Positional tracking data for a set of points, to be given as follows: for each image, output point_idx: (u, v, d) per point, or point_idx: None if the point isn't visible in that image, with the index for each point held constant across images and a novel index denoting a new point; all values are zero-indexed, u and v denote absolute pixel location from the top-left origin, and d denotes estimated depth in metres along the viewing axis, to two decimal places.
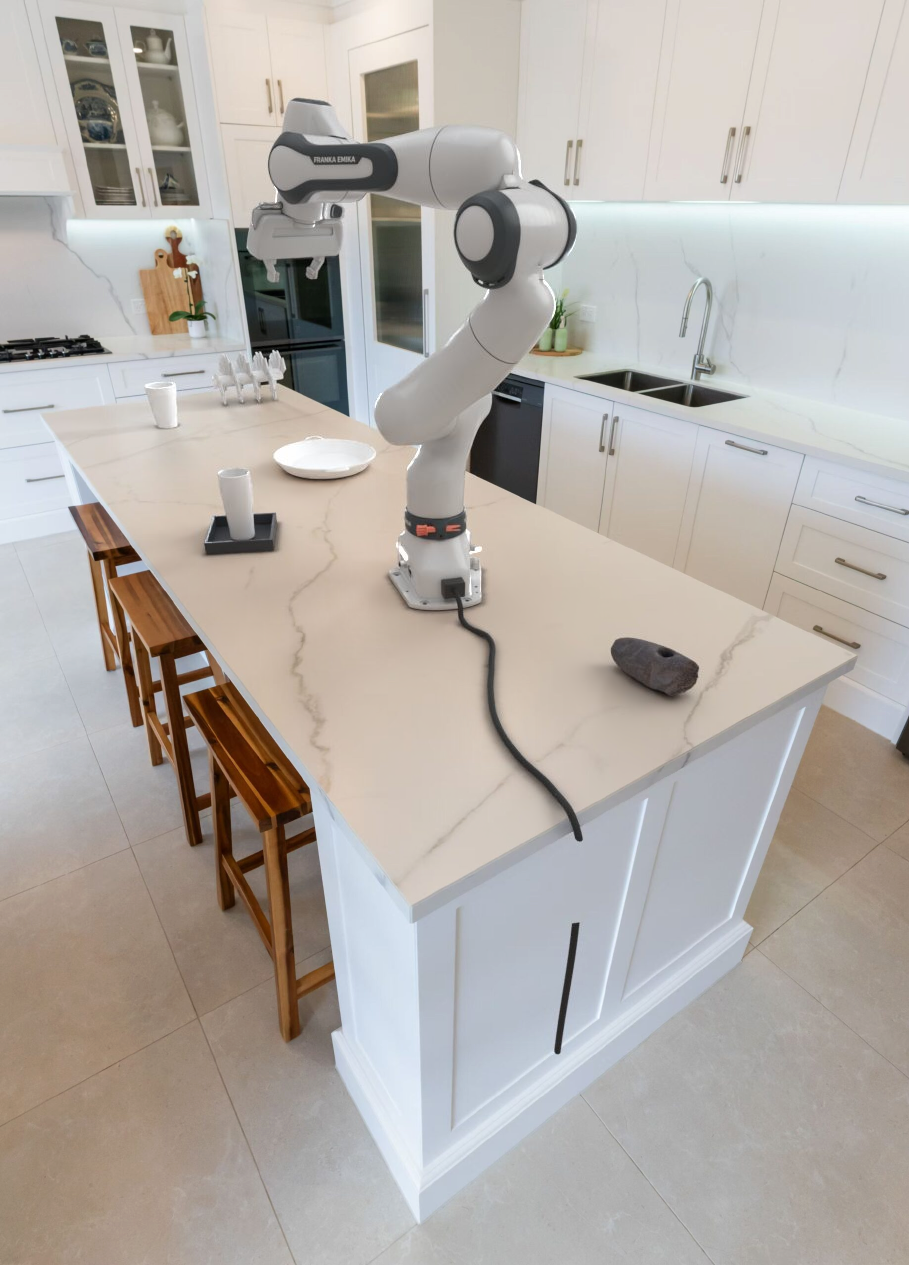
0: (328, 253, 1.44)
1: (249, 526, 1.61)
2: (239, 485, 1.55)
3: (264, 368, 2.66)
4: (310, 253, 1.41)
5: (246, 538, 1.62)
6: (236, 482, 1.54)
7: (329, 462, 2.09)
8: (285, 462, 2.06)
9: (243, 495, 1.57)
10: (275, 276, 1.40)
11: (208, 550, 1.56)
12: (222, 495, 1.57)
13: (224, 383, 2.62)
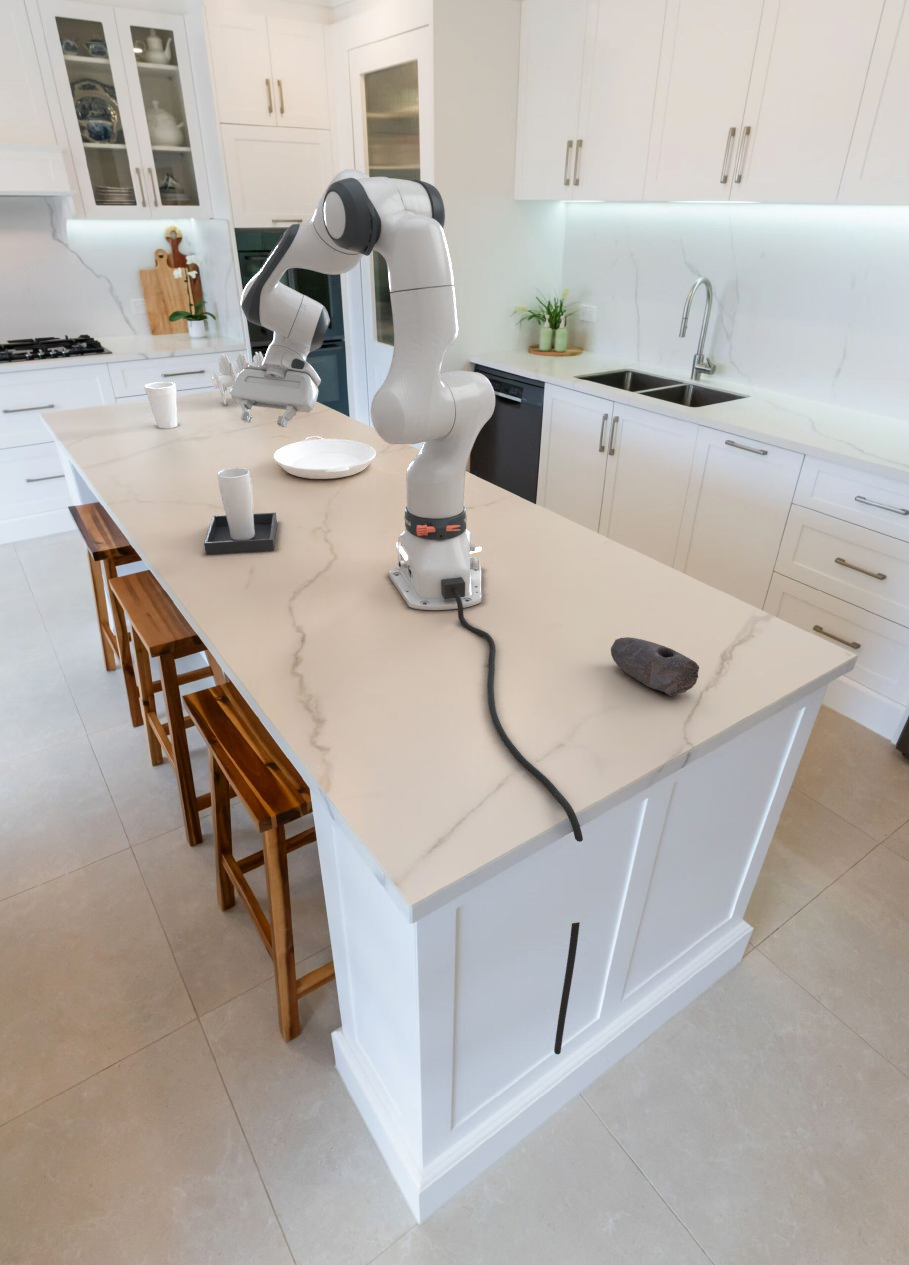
0: (292, 400, 1.60)
1: (249, 526, 1.61)
2: (239, 485, 1.55)
3: None
4: (275, 398, 1.61)
5: (246, 538, 1.62)
6: (236, 482, 1.54)
7: (329, 462, 2.09)
8: (285, 462, 2.06)
9: (243, 495, 1.57)
10: (244, 413, 1.64)
11: (208, 550, 1.56)
12: (222, 495, 1.57)
13: (224, 383, 2.62)
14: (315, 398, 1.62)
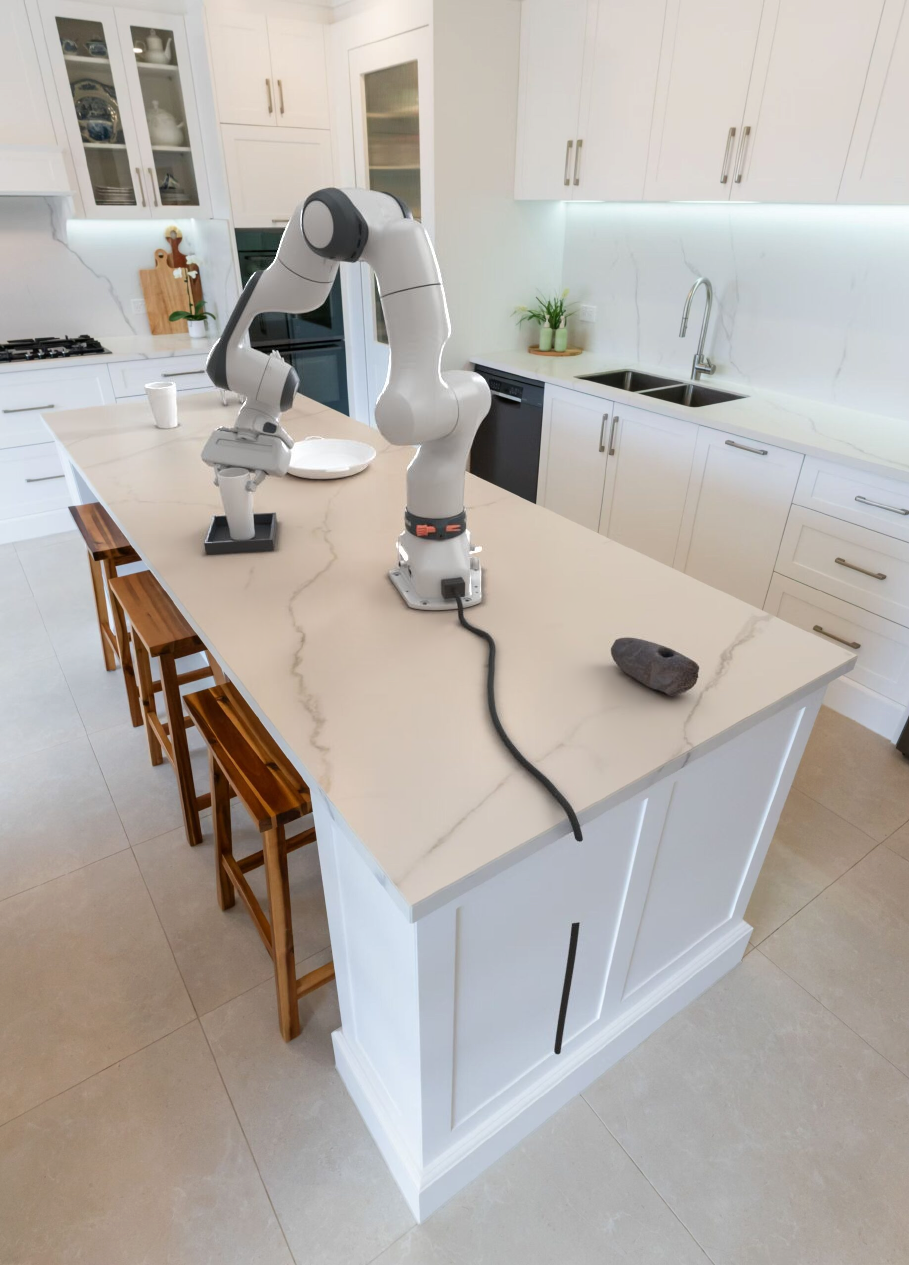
0: (264, 465, 1.55)
1: (249, 526, 1.61)
2: (239, 485, 1.55)
3: None
4: (246, 462, 1.56)
5: (246, 538, 1.62)
6: (236, 482, 1.54)
7: (329, 462, 2.09)
8: None
9: (243, 495, 1.57)
10: (217, 478, 1.59)
11: (208, 550, 1.56)
12: (222, 495, 1.57)
13: None
14: (288, 462, 1.58)
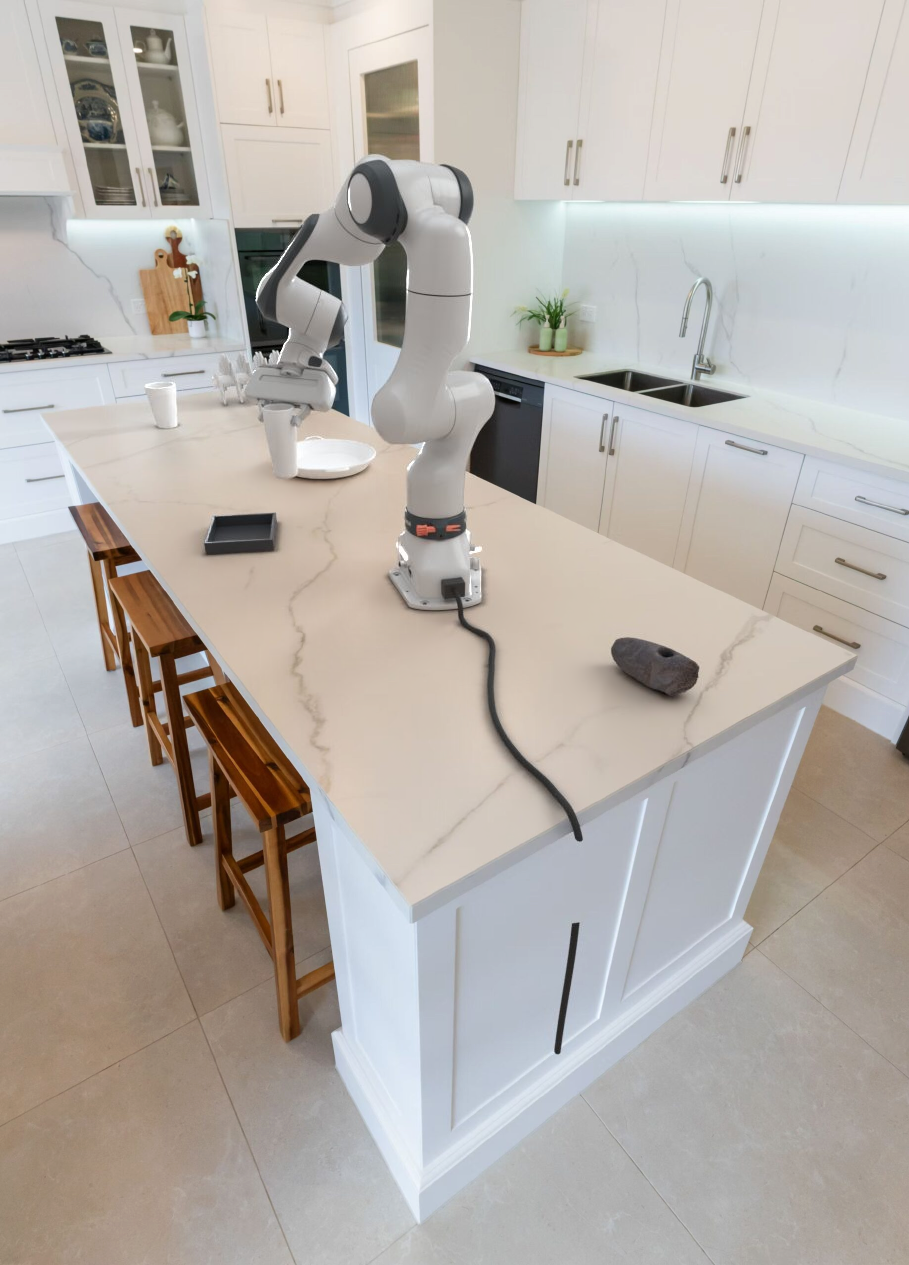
0: (309, 399, 1.54)
1: (293, 463, 1.60)
2: (285, 419, 1.54)
3: None
4: (291, 397, 1.55)
5: (290, 475, 1.61)
6: (281, 416, 1.53)
7: (329, 462, 2.09)
8: None
9: (288, 430, 1.56)
10: (261, 414, 1.58)
11: (208, 550, 1.56)
12: (267, 430, 1.56)
13: (224, 383, 2.62)
14: (333, 397, 1.57)
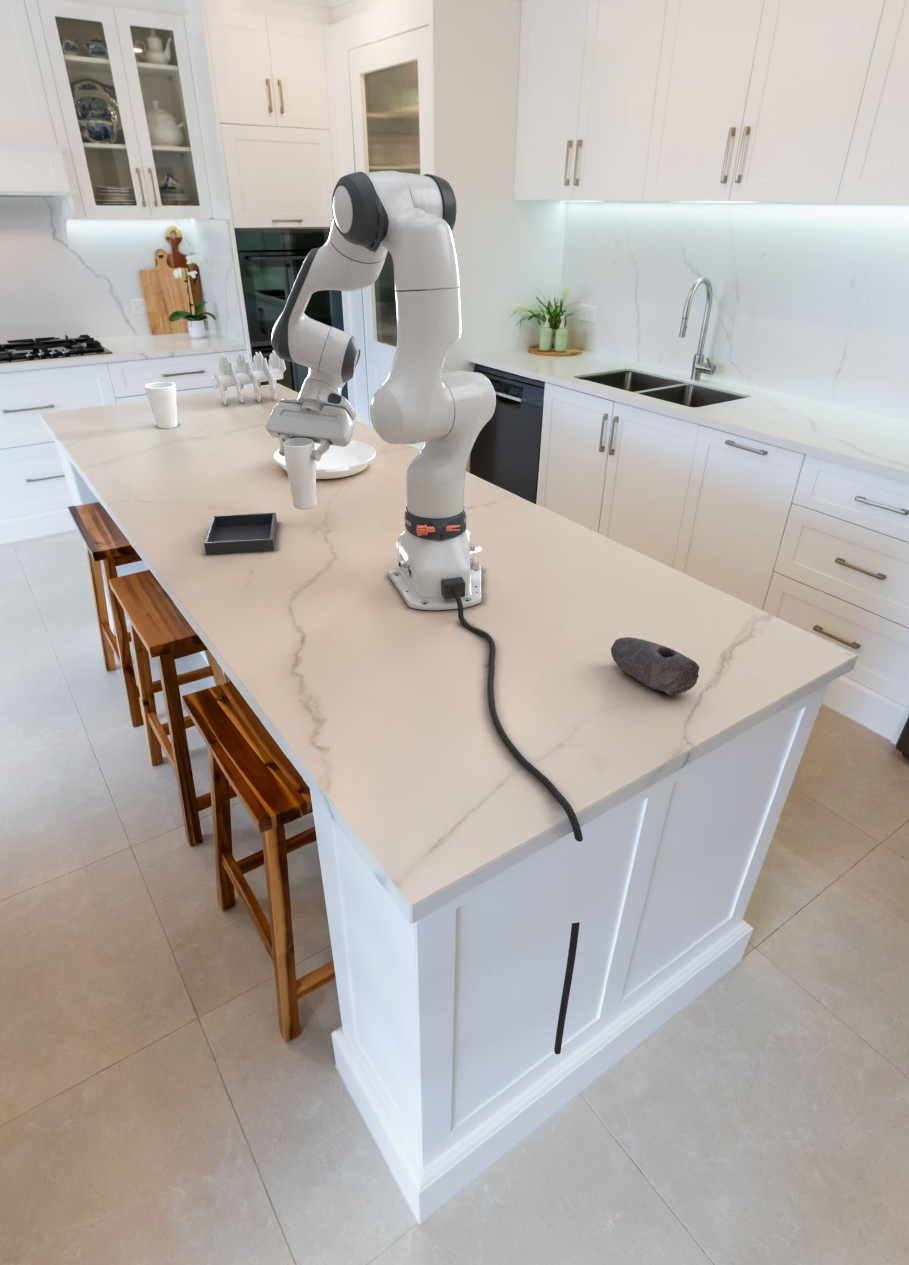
0: (329, 435, 1.60)
1: (312, 495, 1.66)
2: (305, 453, 1.60)
3: (264, 368, 2.66)
4: (311, 432, 1.61)
5: (309, 506, 1.67)
6: (302, 451, 1.59)
7: (329, 462, 2.09)
8: (285, 462, 2.06)
9: (308, 464, 1.62)
10: (282, 448, 1.63)
11: (208, 550, 1.56)
12: (287, 464, 1.62)
13: (224, 383, 2.62)
14: (351, 432, 1.62)
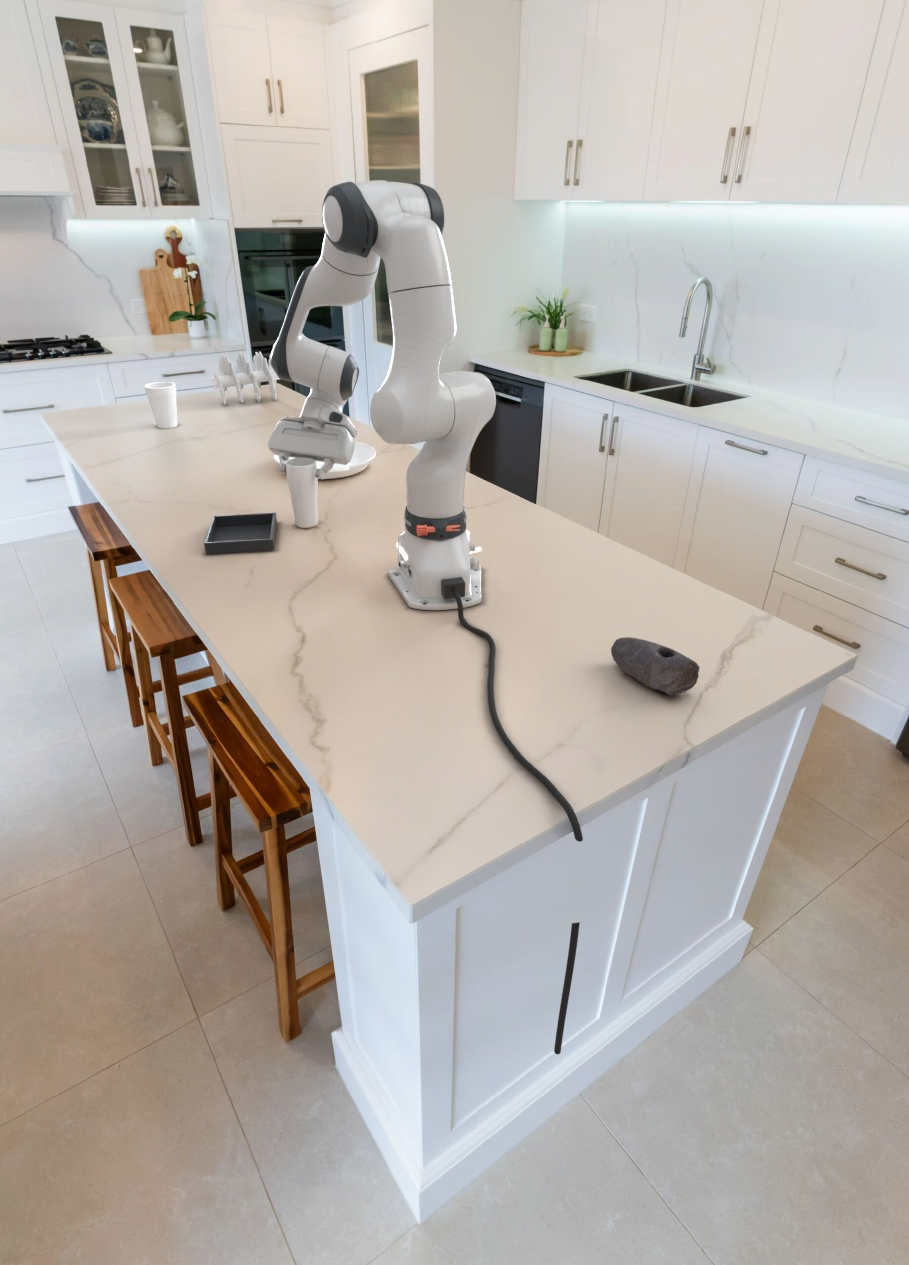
0: (330, 453, 1.62)
1: (314, 513, 1.69)
2: (307, 473, 1.62)
3: (264, 368, 2.66)
4: (313, 450, 1.63)
5: (311, 525, 1.69)
6: (304, 471, 1.62)
7: None
8: None
9: (310, 483, 1.64)
10: (281, 465, 1.66)
11: (208, 550, 1.56)
12: (290, 483, 1.64)
13: (224, 383, 2.62)
14: (352, 450, 1.65)
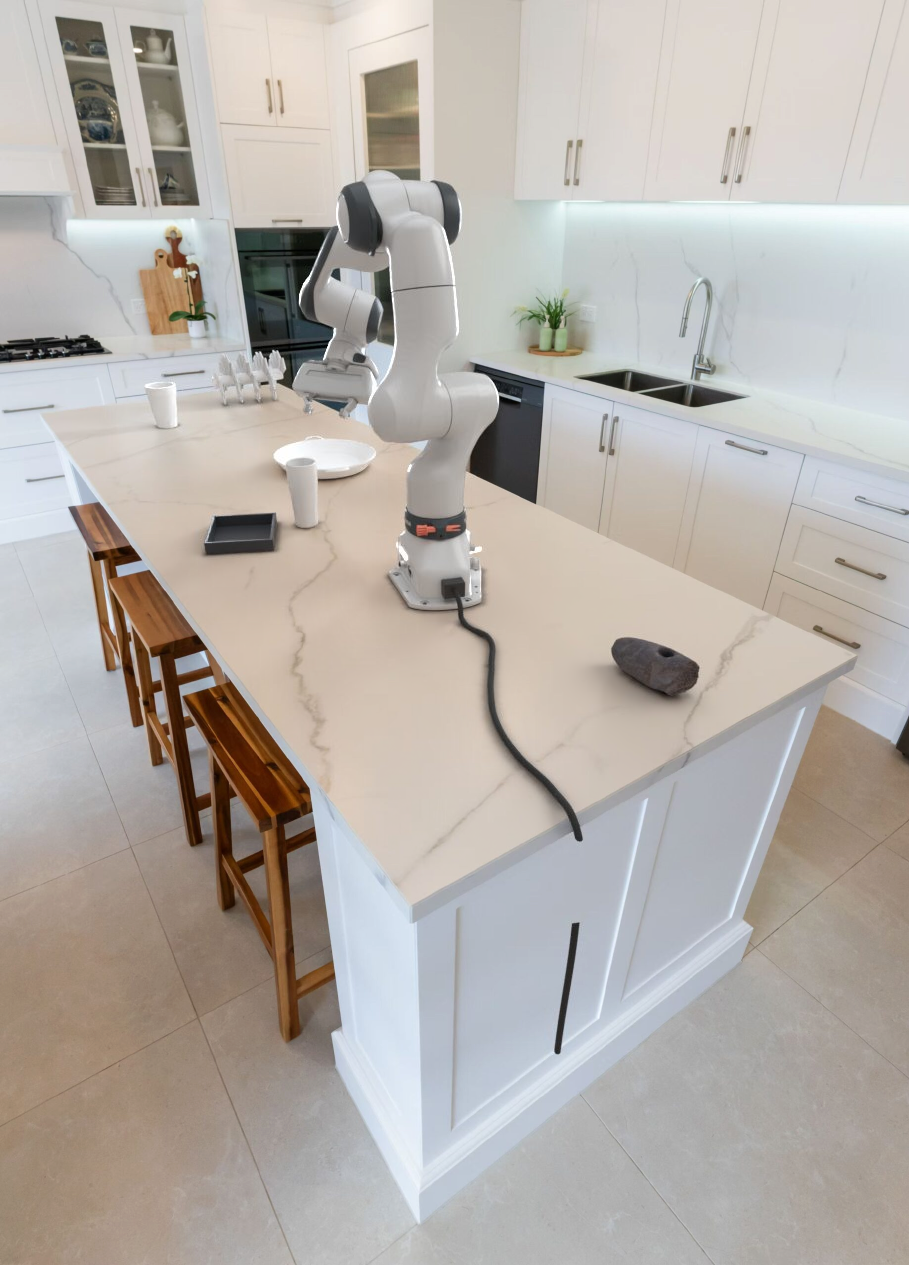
0: (354, 393, 1.67)
1: (314, 513, 1.69)
2: (307, 473, 1.62)
3: (264, 368, 2.66)
4: (337, 391, 1.68)
5: (311, 525, 1.69)
6: (304, 471, 1.62)
7: (329, 462, 2.09)
8: (285, 462, 2.06)
9: (310, 483, 1.64)
10: (306, 406, 1.70)
11: (208, 550, 1.56)
12: (290, 483, 1.64)
13: (224, 383, 2.62)
14: None
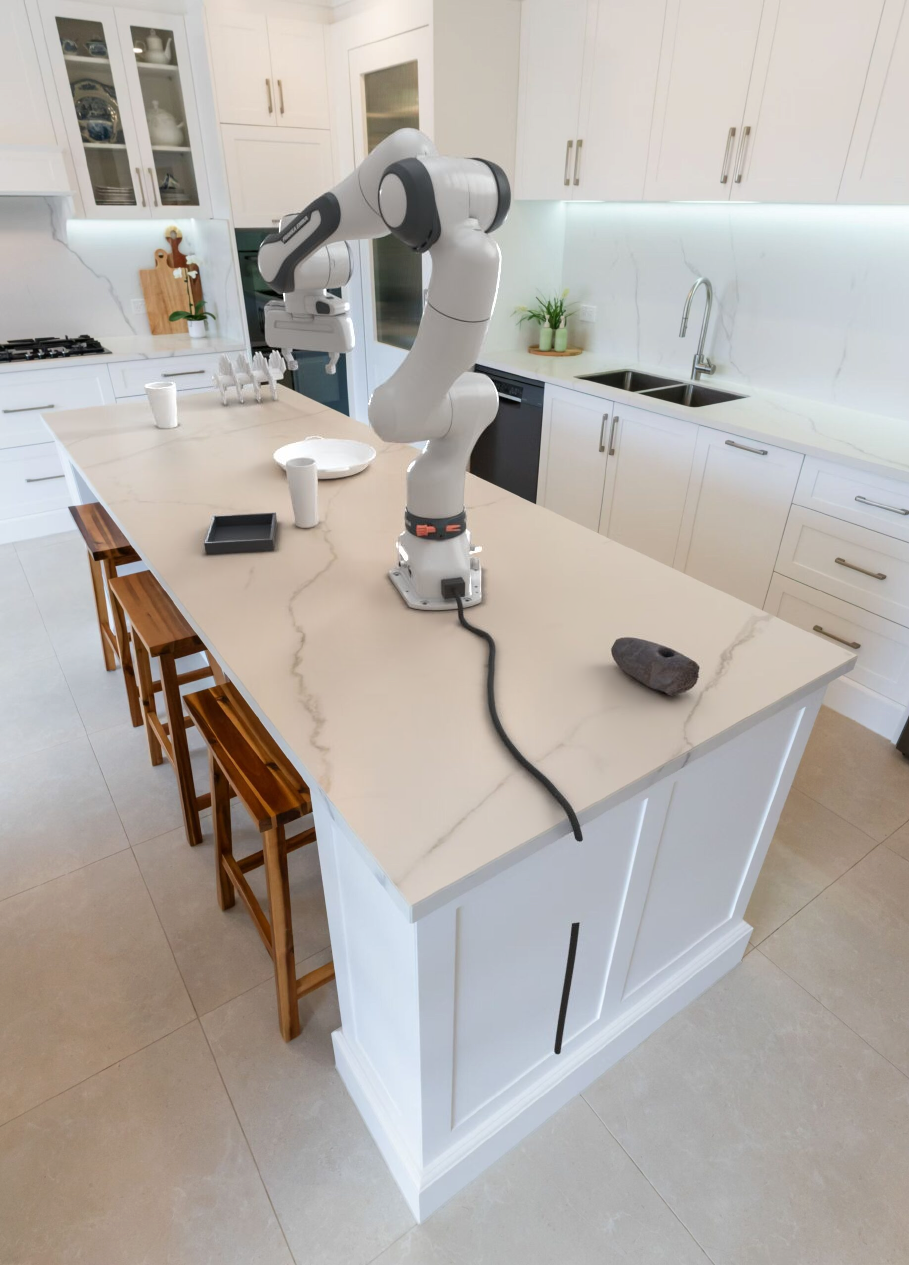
0: (333, 349, 1.54)
1: (314, 513, 1.69)
2: (307, 473, 1.62)
3: (264, 368, 2.66)
4: (314, 347, 1.55)
5: (311, 525, 1.69)
6: (304, 471, 1.62)
7: (329, 462, 2.09)
8: (285, 462, 2.06)
9: (310, 483, 1.64)
10: (289, 364, 1.60)
11: (208, 550, 1.56)
12: (290, 483, 1.64)
13: (224, 383, 2.62)
14: (352, 333, 1.54)
